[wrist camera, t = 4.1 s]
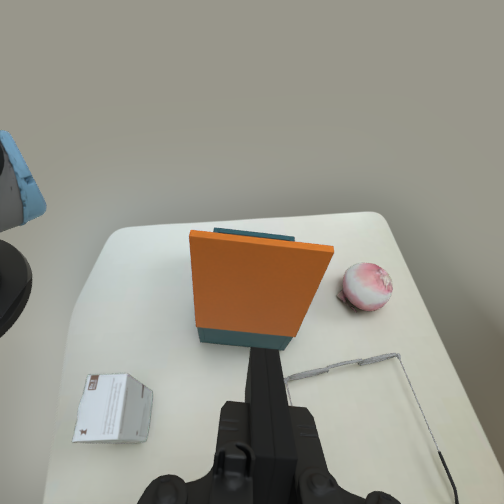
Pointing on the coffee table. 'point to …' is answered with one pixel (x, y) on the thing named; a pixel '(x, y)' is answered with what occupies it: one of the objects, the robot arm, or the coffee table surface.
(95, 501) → the coffee table surface
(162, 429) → the coffee table surface
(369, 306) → the onion
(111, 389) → the cosmetic box
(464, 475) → the coffee table surface
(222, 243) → the lid
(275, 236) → the box
